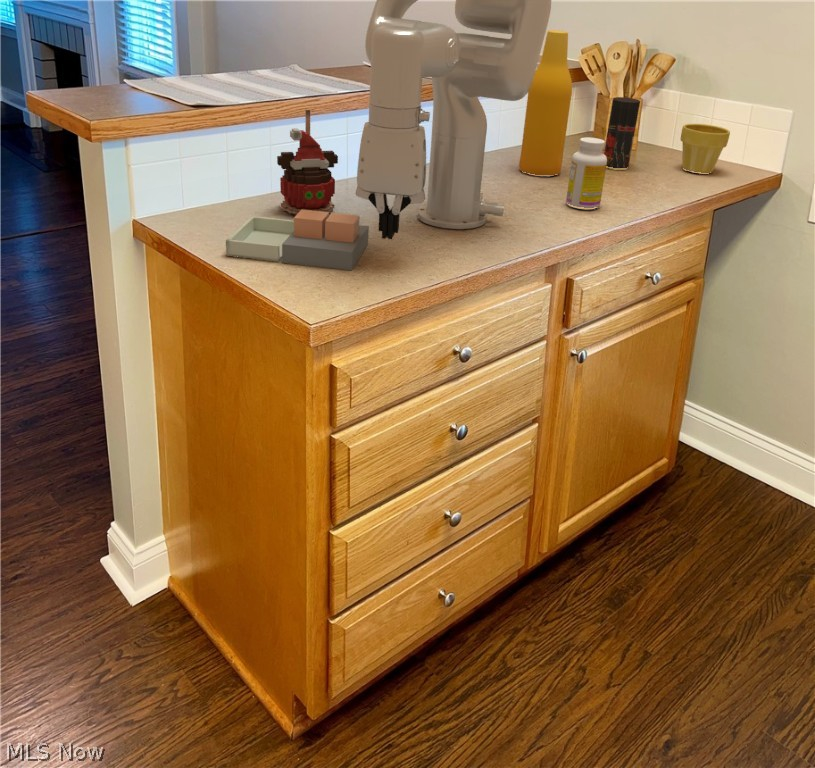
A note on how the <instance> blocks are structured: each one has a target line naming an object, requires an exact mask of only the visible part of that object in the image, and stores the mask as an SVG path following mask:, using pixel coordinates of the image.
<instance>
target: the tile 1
mask: <svg viewBox="0 0 815 768" xmlns="http://www.w3.org/2000/svg"><path fill="white" fill-rule="evenodd" d="M329 216H330V212H321V211H312V210H303V209H302V210H301V211H300V212H299V213H298V214H295V216H294V217H293V220H294V236H297V237H306V238H315V239H323V237H324V236H325V221H326V220H327V218H328V217H329Z"/></svg>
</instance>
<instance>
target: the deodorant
mask: <svg viewBox="0 0 815 768" xmlns="http://www.w3.org/2000/svg"><path fill="white" fill-rule="evenodd" d="M640 105H641V100H639V99H636V98H634V97H633V98H631V97H627V96H626V97H623V96H619V97H618V96H617V97H613V98H612V102H611V109H610V115H609V119H608V120H609V121H608V128H607V133H606V139H605V145H604V149H603V150H604V151H603V154H604V155H605V156H606V158H607V165H606V166H608V167H613V168H627V167H628V168H629V166H630V160H631V155H632V151H633V150H632V149H633V143H634V138H635V134H636V127H637V121H638V115H639V109H640Z"/></svg>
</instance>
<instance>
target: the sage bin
mask: <svg viewBox="0 0 815 768" xmlns="http://www.w3.org/2000/svg"><path fill="white" fill-rule="evenodd" d="M293 231H294V219H284V218H283V219H282V218H273V217H266V216H265V217H264V216H255V215H251V216H250V217H249V218H248V219H246V221H245V222H243V224H242V225H240V226H239V227H238V228H237V229H236V230H234V232H233V233H231V235H230V236H229V237H228V238H227V239H226V240H225V255H227V256H226V257H228V256H236V257H235V258H237V256H238V257H245V258H244V259H246V258H252V259H251V260H254V259H259V260H258V261H263V260H265V261H264V262H272V261H273V263H274V262H275V263H279V262H280V261H282V244H283V243H284V241H285V240H286V239H287V238H288V237H289V236H290V235H291V233H292V232H293Z"/></svg>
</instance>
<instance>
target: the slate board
mask: <svg viewBox="0 0 815 768" xmlns="http://www.w3.org/2000/svg"><path fill="white" fill-rule="evenodd" d="M369 229H370V226H369V225H361V224H359V235H358V236H357V238H356V239H355V241H354V242H353V243H352V242H343V241H333V240H325V236H324V237H323V239H315V238H306V237H297V236H294V231H293V232H292V233H291V235H290V236H289V237H288V238H287V239H286V240H285V241H284V243H283V244H282V259H281V261H282V262H281V263H284V264H293V265H298V266H299V265H301V266H307V267H309V266H310V267H317V268H326V269H334V270H343V271H344V270H345V271H350V272H351V271H352V270H354V267H355V266H356V264H357V262H358V261H359V259H360V257H362V254H363V253H364V251H365V249H366V248H367V246H368V244H369V231H370V230H369Z"/></svg>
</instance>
